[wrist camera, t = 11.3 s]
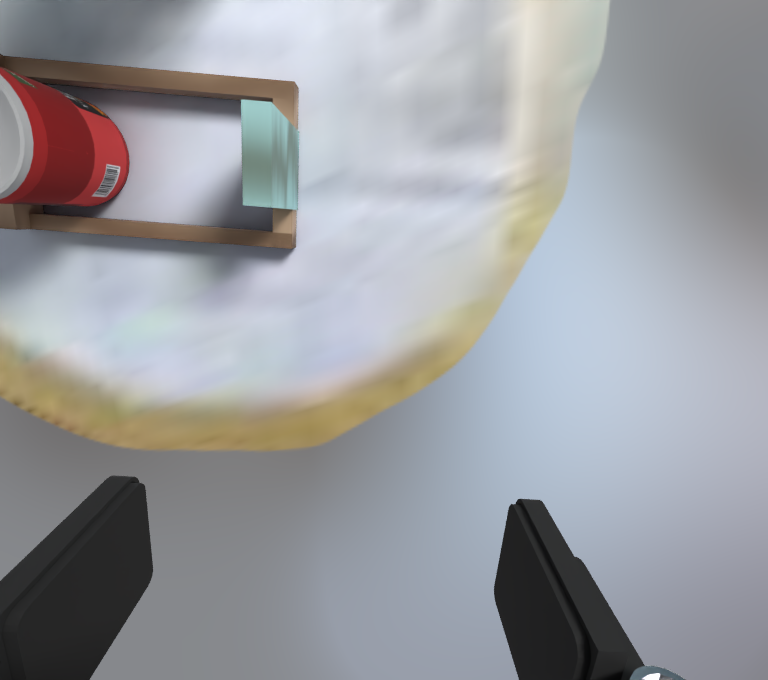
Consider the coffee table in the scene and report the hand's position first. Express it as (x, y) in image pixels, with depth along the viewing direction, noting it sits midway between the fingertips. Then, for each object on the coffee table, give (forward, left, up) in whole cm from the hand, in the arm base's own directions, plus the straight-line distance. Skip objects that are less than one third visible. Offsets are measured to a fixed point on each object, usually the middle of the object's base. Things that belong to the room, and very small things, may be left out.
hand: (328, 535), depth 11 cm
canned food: (-11, -23, -29) cm, 38 cm away
